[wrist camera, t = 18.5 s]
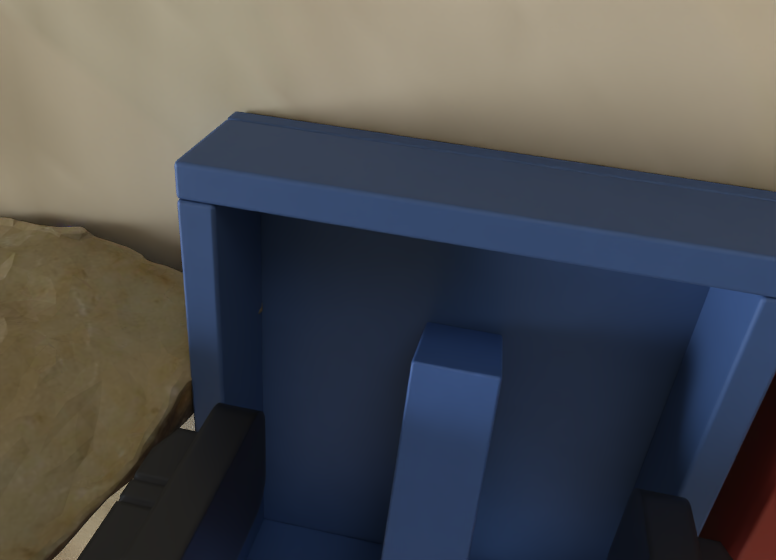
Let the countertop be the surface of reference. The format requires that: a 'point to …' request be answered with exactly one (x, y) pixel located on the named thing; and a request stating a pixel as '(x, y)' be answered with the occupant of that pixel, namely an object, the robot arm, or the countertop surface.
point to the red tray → (749, 492)
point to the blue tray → (471, 326)
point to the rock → (81, 377)
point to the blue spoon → (443, 444)
